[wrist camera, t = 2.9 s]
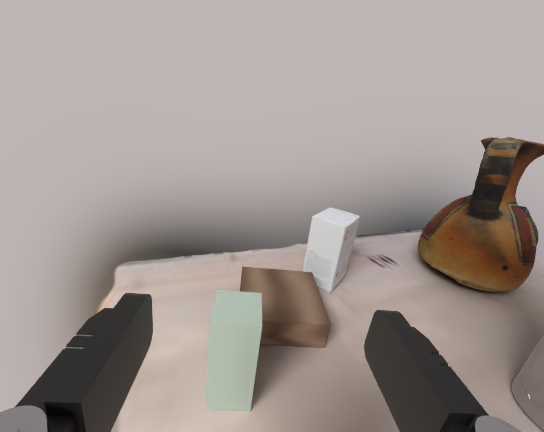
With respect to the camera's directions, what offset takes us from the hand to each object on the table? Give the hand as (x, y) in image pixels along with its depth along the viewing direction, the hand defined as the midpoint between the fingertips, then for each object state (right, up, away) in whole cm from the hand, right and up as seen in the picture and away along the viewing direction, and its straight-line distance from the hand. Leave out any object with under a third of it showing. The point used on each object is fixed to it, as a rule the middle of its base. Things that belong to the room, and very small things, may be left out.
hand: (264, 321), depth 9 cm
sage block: (-4, -15, +19) cm, 24 cm away
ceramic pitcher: (+43, -10, +49) cm, 66 cm away
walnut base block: (+1, -11, +31) cm, 32 cm away
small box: (+10, -8, +42) cm, 44 cm away
